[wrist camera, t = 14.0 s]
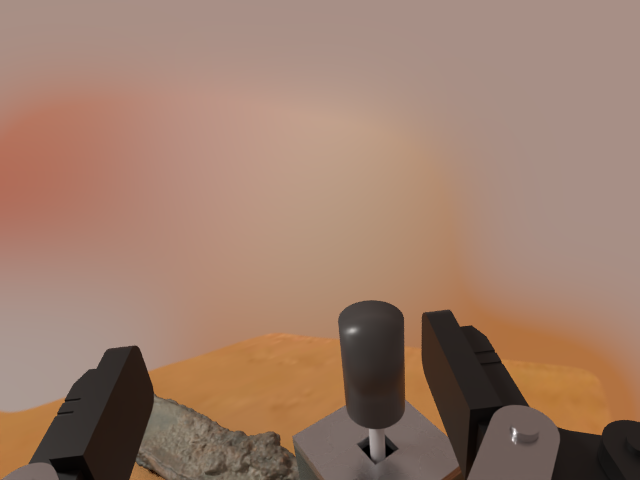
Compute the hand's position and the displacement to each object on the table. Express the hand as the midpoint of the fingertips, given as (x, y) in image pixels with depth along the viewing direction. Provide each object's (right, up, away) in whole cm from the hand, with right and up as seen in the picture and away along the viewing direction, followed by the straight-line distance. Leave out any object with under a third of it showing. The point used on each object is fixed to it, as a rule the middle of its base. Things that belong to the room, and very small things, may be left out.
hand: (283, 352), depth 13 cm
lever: (+7, -25, +30) cm, 39 cm away
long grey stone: (-12, -24, +43) cm, 51 cm away
